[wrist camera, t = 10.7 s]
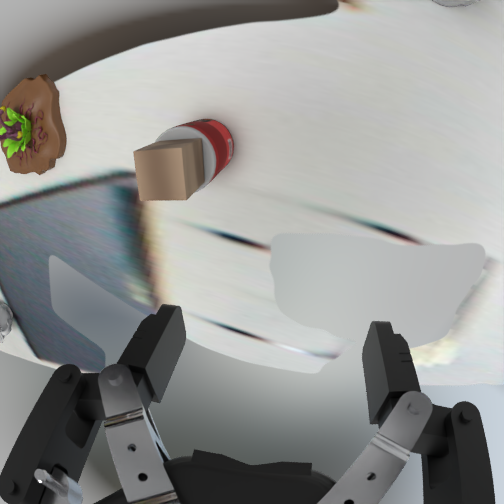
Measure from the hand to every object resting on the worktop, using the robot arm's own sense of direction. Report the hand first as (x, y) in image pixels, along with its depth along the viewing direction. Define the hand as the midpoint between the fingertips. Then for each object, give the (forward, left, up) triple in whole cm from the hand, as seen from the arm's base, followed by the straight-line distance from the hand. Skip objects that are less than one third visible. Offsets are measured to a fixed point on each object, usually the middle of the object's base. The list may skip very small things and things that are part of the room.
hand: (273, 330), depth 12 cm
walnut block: (+12, -2, -22) cm, 25 cm away
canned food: (+12, -2, -33) cm, 36 cm away
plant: (+49, -9, -34) cm, 60 cm away
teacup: (+86, +43, -33) cm, 102 cm away
